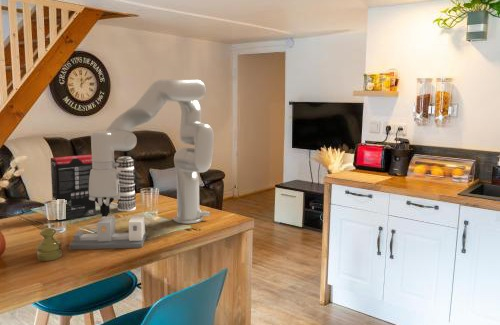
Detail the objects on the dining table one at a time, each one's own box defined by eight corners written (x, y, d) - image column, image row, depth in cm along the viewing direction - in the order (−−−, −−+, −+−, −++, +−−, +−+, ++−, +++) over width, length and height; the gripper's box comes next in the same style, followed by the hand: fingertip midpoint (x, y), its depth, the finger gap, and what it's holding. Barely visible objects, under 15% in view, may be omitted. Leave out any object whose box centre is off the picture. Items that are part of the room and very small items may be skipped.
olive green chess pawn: (59, 260, 139) (57, 231, 137) (34, 262, 137) (32, 232, 136) (64, 252, 146) (62, 224, 144) (40, 254, 144) (38, 225, 143)
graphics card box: (91, 211, 197) (87, 153, 192) (97, 214, 192) (94, 155, 187) (52, 219, 185) (48, 157, 180) (58, 222, 180) (54, 159, 176)
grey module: (115, 234, 160) (114, 216, 159) (110, 241, 152) (109, 223, 151) (103, 234, 160) (102, 216, 159) (97, 242, 151) (96, 223, 150)
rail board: (146, 235, 164) (146, 213, 163) (141, 247, 151) (140, 223, 150) (80, 237, 162) (78, 215, 160) (69, 249, 149) (67, 225, 147)
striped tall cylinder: (140, 207, 205) (139, 156, 201) (128, 212, 196) (126, 158, 192) (125, 205, 208) (123, 155, 204) (112, 210, 199) (110, 157, 195)
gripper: (126, 164, 156) (128, 212, 159) (84, 164, 155) (87, 213, 158) (122, 167, 149) (124, 218, 152) (78, 167, 147) (81, 218, 150)
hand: (105, 215), depth 155 cm, fingers closed
